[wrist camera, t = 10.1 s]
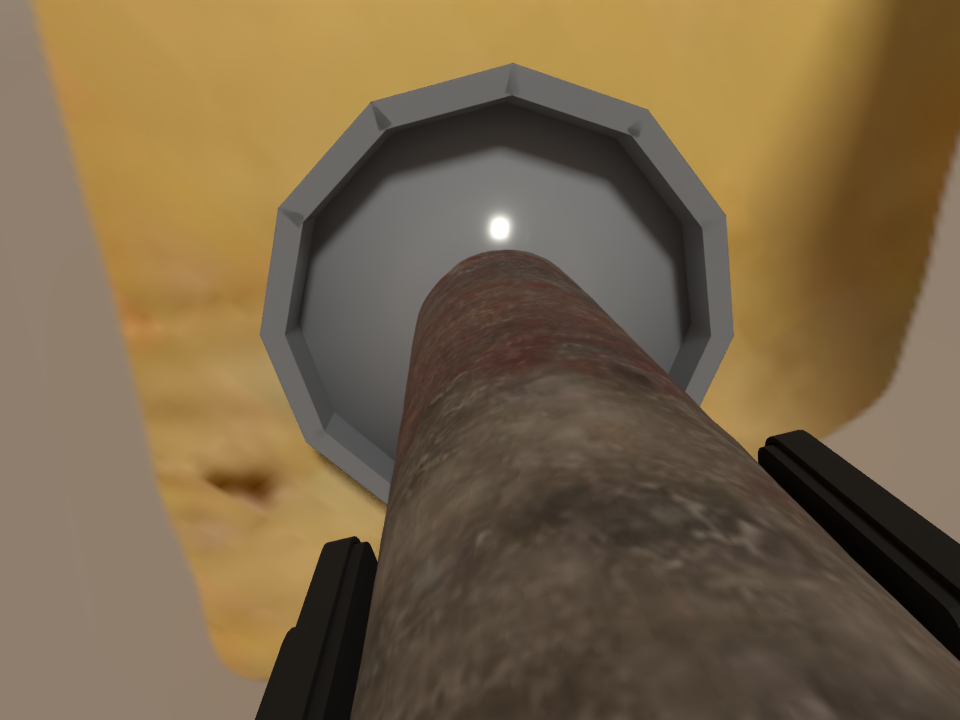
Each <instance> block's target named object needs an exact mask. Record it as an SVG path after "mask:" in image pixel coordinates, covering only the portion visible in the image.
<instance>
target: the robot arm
mask: <svg viewBox="0 0 960 720" xmlns="http://www.w3.org/2000/svg"><path fill="white" fill-rule="evenodd" d="M758 463H759V465H760V466H761V467H762V468H763V469H764V470H765V471H766V472H767V473H768V474H769V475H770V476H771V477H772V478H773V479H774V480H775V481H776V482H777V483H778V484H779V486H781V487H782V488H783V489H784V490H785V491H786V492H787V493H788V494H789V495H790V496H791V497H792V498H793V499H794V500H795V501H796V502H797V503H798V504H799V505H800V506H801V507H802V508H803V509H804V510H805V511H806V512H807V513H808V514H809V515H810V516H811V517H812V518H813V519H814V520H815V521H816V522H817V523H818V524H819V525H820V526H821V527H822V528H823V529H824V530H825V531H826V532H827V533H828V534H829V535H830V536H831V537H832V538H833V539H834V540H835V541H836V542H837V543H838V544H839V545H840V546H841V547H842V548H843V549H844V550H845V551H846V552H847V554H848V555H849V556H850V557H851V558H852V559H853V560H854V561H856V562H857V563H858V564H859V565H860V566H861V567H862V568H863V569H864V570H865V571H866V572H867V573H868V574H869V575H870V576H871V577H872V578H874V579H875V580H876V581H877V582H878V583H879V584H880V585H881V586H882V587H883V588H884V589H885V590H886V591H887V592H888V593H889V594H890V595H892V596H893V597H894V598H895V599H896V600H897V601H898V602H899V603H900V604H901V605H902V606H903V607H904V608H905V609H906V610H907V611H908V612H909V613H910V614H911V615H912V616H913V617H914V618H915V619H916V620H917V621H918V622H919V623H920V624H921V625H923V626H924V627H925V628H926V629H927V630H928V631H929V632H930V633H931V634H932V635H933V636H934V637H935V638H936V639H937V640H938V641H939V642H940V643H941V644H942V645H943V646H944V647H945V648H946V649H947V650H948V651H949V652H950V653H951V654H953V655H954V656H955V657H956V658H957V659H958V660H959V661H960V544H959V543H958V542H956V541H955V540H953V539H952V538H951V537H949V536H948V535H947V534H945V533H944V532H943V531H941V530H940V529H938V528H937V527H936V526H934V525H933V524H932V523H930V522H929V521H928V520H926V519H925V518H923V517H922V516H921V515H919V514H918V513H917V512H915V511H914V510H913V509H911V508H910V507H908V506H907V505H906V504H904V503H903V502H902V501H900V500H899V499H898V498H896V497H895V496H893V495H892V494H891V493H889V492H888V491H887V490H885V489H884V488H882V487H881V486H880V485H878V484H877V483H876V482H874V481H873V480H871V479H870V478H869V477H867V476H866V475H865V474H863V473H862V472H861V471H859V470H858V469H856V468H855V467H854V466H853V465H851V464H850V463H848V462H847V461H846V460H844V459H843V458H842V457H840V456H839V455H838V454H836V453H835V452H833V451H832V450H831V449H829V448H828V447H827V446H825V445H824V444H823V443H821V442H820V441H818V440H817V439H816V438H814V437H813V436H812V435H810V434H809V433H807V432H806V431H804V430H796V431H792V432H788V433H784V434H780V435H775V436H771V437H769V438H767V440H766V442H765V447H761V448H759V451H758ZM377 565H378V562H377V559H376V557H375V554H374V552H373V550H372V547H371V545H370V544H369V542H362V543H361V542H360V540H359V539H358V538H357V537H355V536H353V537H349V538H345V539H341V540H337V541H332V542H328V543H326V544H325V545H324V547H323V549H322V551H321V554H320V557H319V560H318V563H317V566H316V569H315V572H314V575H313V578H312V581H311V583H310V586H309V589H308V592H307V595H306V598H305V601H304V604H303V607H302V610H301V613H300V616H299V618H298V621H297V624H296V627H293V628H291V629H290V630H289V631H288V632H287V634H286V636H285V638H284V640H283V643H282V645H281V648H280V651H279V654H278V657H277V659H276V662H275V665H274V668H273V670H272V673H271V676H270V679H269V682H268V684H267V687H266V690H265V693H264V696H263V698H262V701H261V704H260V707H259V709H258V712H257V715H256V718H255V720H350V716H351V711H352V706H353V701H354V696H355V691H356V686H357V680H358V675H359V670H360V665H361V659H362V653H363V648H364V642H365V636H366V630H367V624H368V618H369V612H370V607H371V600H372V594H373V587H374V582H375V577H376V572H377Z"/></svg>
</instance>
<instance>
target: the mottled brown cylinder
mask: <svg viewBox="0 0 960 720" xmlns="http://www.w3.org/2000/svg"><path fill="white" fill-rule="evenodd" d="M350 720H960V661H959V660H958V659H957V658H956V657H955V656H954V655H953V654H951V653H950V652H949V651H948V650H947V649H946V648H945V647H944V646H943V645H942V644H941V643H940V642H939V641H938V640H937V639H936V638H935V637H934V636H933V635H932V634H931V633H930V632H929V631H928V630H927V629H926V628H925V627H924V626H923V625H921V624H920V623H919V622H918V621H917V620H916V619H915V618H914V617H913V616H912V615H911V614H910V613H909V612H908V611H907V610H906V609H905V608H904V607H903V606H902V605H901V604H900V603H899V602H898V601H897V600H896V599H895V598H894V597H893V596H892V595H890V594H889V593H888V592H887V591H886V590H885V589H884V588H883V587H882V586H881V585H880V584H879V583H878V582H877V581H876V580H875V579H874V578H872V577H871V576H870V575H869V574H868V573H867V572H866V571H865V570H864V569H863V568H862V567H861V566H860V565H859V564H858V563H857V562H856V561H854V560H853V559H852V558H851V557H850V556H849V555H848V554H847V552H846V551H845V550H844V549H843V548H842V547H841V546H840V545H839V544H838V543H837V542H836V541H835V540H834V539H833V538H832V537H831V536H830V535H829V534H828V533H827V532H826V531H825V530H824V529H823V528H822V527H821V526H820V525H819V524H818V523H817V522H816V521H815V520H814V519H813V518H812V517H811V516H810V515H809V514H808V513H807V512H806V511H805V510H804V509H803V508H802V507H801V506H800V505H799V504H798V503H797V502H796V501H795V500H794V499H793V498H792V497H791V496H790V495H789V494H788V493H787V492H786V491H785V490H784V489H783V488H782V487H781V486H779V484H778V483H777V482H776V481H775V480H774V479H773V478H772V477H771V476H770V475H769V474H768V473H767V472H766V471H765V470H764V469H763V468H762V467H761V466H760V465H759V463H758V462H757V461H756V460H755V459H754V458H753V457H752V456H751V455H750V454H749V453H748V452H747V451H746V450H745V449H744V448H743V447H742V446H741V445H740V444H739V442H737V441H736V440H735V439H734V438H733V437H732V436H730V435H729V434H728V433H727V432H726V431H725V430H723V429H722V428H721V427H720V426H719V425H718V424H717V423H715V422H714V421H713V420H712V419H711V418H710V417H709V416H708V415H707V414H706V413H705V412H704V411H703V410H702V409H701V408H700V407H699V406H698V405H697V403H696V402H695V401H694V400H693V399H692V398H691V397H690V396H689V395H688V394H687V393H686V392H685V391H683V390H682V389H681V388H680V387H679V386H678V385H677V384H676V383H675V382H674V381H673V380H672V378H671V377H670V376H669V375H668V374H667V373H666V372H665V370H664V369H662V368H661V367H660V366H659V365H658V364H657V363H656V362H655V361H654V360H653V359H652V358H651V357H650V356H649V355H648V354H647V353H646V352H645V351H644V350H643V349H642V348H641V347H640V346H639V345H638V344H637V343H636V342H635V341H634V340H633V339H632V338H631V337H630V336H629V335H628V334H627V333H626V332H625V331H624V329H623V328H621V327H620V326H619V325H618V324H617V323H616V322H615V321H614V320H613V319H612V318H611V317H610V316H609V315H608V314H607V313H606V312H605V311H604V310H603V309H602V308H601V307H600V306H599V305H598V304H597V303H596V302H595V300H594V299H593V298H591V297H590V296H589V295H588V294H587V293H586V292H585V291H584V290H583V289H582V288H581V287H580V286H579V285H578V284H577V283H575V282H574V281H573V280H572V279H571V278H570V277H569V276H568V275H567V274H565V273H564V272H563V271H562V270H561V269H560V268H559V267H557V266H556V265H555V264H553V263H552V262H551V261H549V260H547V259H545V258H543V257H540V256H538V255H535V254H533V253H531V252H526V251H520V250H507V249H506V250H496V251H487V252H482V253H479V254H476V255H473V256H470V257H468V258H467V259H465V260H463V261H461V262H459V263H458V264H457V265H456V266H455V267H453V268H452V269H451V270H450V271H449V272H448V273H447V274H446V275H444V276H443V277H442V278H441V279H440V280H439V281H438V283H437V284H436V285H435V286H434V288H433V289H432V290H431V292H430V293H429V294H428V295H427V297H426V299H425V300H424V302H423V304H422V306H421V308H420V311H419V314H418V318H417V322H416V327H415V333H414V338H413V344H412V348H411V356H410V364H409V372H408V378H407V385H406V392H405V399H404V409H403V415H402V419H401V424H400V431H399V437H398V444H397V450H396V457H395V464H394V470H393V475H392V480H391V485H390V490H389V497H388V504H387V512H386V517H385V522H384V528H383V533H382V538H381V544H380V551H379V558H378V565H377V572H376V577H375V582H374V587H373V594H372V600H371V607H370V612H369V618H368V624H367V630H366V636H365V642H364V648H363V653H362V659H361V665H360V670H359V675H358V680H357V686H356V691H355V696H354V701H353V706H352V711H351V716H350Z"/></svg>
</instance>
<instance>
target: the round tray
mask: <svg viewBox="0 0 960 720" xmlns="http://www.w3.org/2000/svg"><path fill="white" fill-rule="evenodd" d="M506 249H507V250H520V251H526V252H531V253H533V254H535V255H538V256H540V257H543V258H545V259H547V260H549V261H551V262H552V263H553V264H555V265H556V266H557V267H559V268H560V269H561V270H562V271H563V272H564V273H565V274H567V275H568V276H569V277H570V278H571V279H572V280H573V281H574V282H575V283H577V284H578V285H579V286H580V287H581V288H582V289H583V290H584V291H585V292H586V293H587V294H588V295H589V296H590V297H591V298H593V299H594V300H595V302H596V303H597V304H598V305H599V306H600V307H601V308H602V309H603V310H604V311H605V312H606V313H607V314H608V315H609V316H610V317H611V318H612V319H613V320H614V321H615V322H616V323H617V324H618V325H619V326H620V327H621V328H623V329H624V331H625V332H626V333H627V334H628V335H629V336H630V337H631V338H632V339H633V340H634V341H635V342H636V343H637V344H638V345H639V346H640V347H641V348H642V349H643V350H644V351H645V352H646V353H647V354H648V355H649V356H650V357H651V358H652V359H653V360H654V361H655V362H656V363H657V364H658V365H659V366H660V367H661V368H662V369H664V370H665V372H666V373H667V374H668V375H669V376H670V377H671V378H672V380H673V381H674V382H675V383H676V384H677V385H678V386H679V387H680V388H681V389H682V390H683V391H685V392H686V393H687V394H688V395H689V396H690V397H691V398H692V399H693V400H694V401H695V402H696V403H697V405H698V406H699V407H700V405H701V403H702V401H703V398H704V396H705V394H706V392H707V390H708V388H709V386H710V384H711V382H712V380H713V378H714V376H715V374H716V371H717V369H718V367H719V365H720V363H721V361H722V359H723V357H724V355H725V353H726V351H727V349H728V347H729V344H730V342H731V340H732V338H733V336H734V334H733V318H732V303H731V287H730V272H729V256H728V241H727V225H726V215H725V213H724V212H723V211H722V209H721V208H720V207H719V205H718V204H717V203H716V201H715V200H714V199H713V197H712V196H711V194H710V193H709V192H708V190H707V189H706V188H705V186H704V185H703V184H702V182H701V181H700V180H699V178H698V177H697V175H696V174H695V173H694V171H693V170H692V169H691V167H690V166H689V165H688V163H687V162H686V161H685V159H684V158H683V156H682V155H681V154H680V152H679V151H678V150H677V148H676V147H675V146H674V144H673V143H672V142H671V140H670V139H669V138H668V136H667V135H666V133H665V132H664V131H663V129H662V128H661V127H660V125H659V124H658V123H657V121H656V120H655V119H654V117H653V116H652V114H651V113H650V112H649V110H648V109H645V108H642V107H639V106H636V105H633V104H630V103H627V102H624V101H621V100H619V99H616V98H613V97H610V96H607V95H604V94H601V93H598V92H595V91H593V90H590V89H587V88H584V87H581V86H578V85H575V84H572V83H569V82H567V81H564V80H561V79H558V78H555V77H552V76H549V75H546V74H543V73H541V72H538V71H535V70H532V69H529V68H526V67H523V66H520V65H517V64H514V63H512V64H508V65H504V66H501V67H497V68H493V69H490V70H486V71H482V72H479V73H475V74H471V75H468V76H464V77H460V78H457V79H453V80H449V81H446V82H442V83H438V84H435V85H431V86H427V87H424V88H420V89H416V90H413V91H409V92H405V93H402V94H398V95H394V96H391V97H387V98H383V99H380V100H376V101H371V103H370V104H369V105H368V106H367V107H366V108H365V109H364V111H363V112H362V113H361V114H360V115H359V116H358V117H357V119H356V120H355V121H354V122H353V123H352V124H351V125H350V127H349V128H348V129H347V130H346V131H345V132H344V133H343V135H342V136H341V137H340V138H339V139H338V140H337V141H336V143H335V144H334V145H333V146H332V147H331V148H330V149H329V151H328V152H327V153H326V154H325V155H324V156H323V157H322V159H321V160H320V161H319V162H318V163H317V164H316V165H315V167H314V168H313V169H312V170H311V171H310V172H309V173H308V175H307V176H306V177H305V178H304V179H303V180H302V181H301V183H300V184H299V185H298V186H297V187H296V188H295V189H294V191H293V192H292V193H291V194H290V195H289V196H288V197H287V199H286V200H285V201H284V202H283V203H282V204H281V205H280V207H278V213H277V220H276V227H275V234H274V241H273V248H272V255H271V262H270V268H269V275H268V282H267V289H266V296H265V303H264V310H263V317H262V324H261V331H260V336H261V339H262V341H263V343H264V346H265V348H266V350H267V353H268V355H269V357H270V360H271V362H272V364H273V367H274V369H275V371H276V373H277V376H278V378H279V380H280V383H281V385H282V387H283V390H284V392H285V394H286V397H287V399H288V401H289V404H290V406H291V408H292V411H293V413H294V415H295V418H296V420H297V422H298V425H299V427H300V429H301V432H302V434H303V436H304V439H305V441H306V442H307V443H308V444H309V445H311V446H312V447H313V448H315V449H316V450H317V451H318V452H320V453H321V454H322V455H324V456H325V457H326V458H327V459H329V460H330V461H331V462H333V463H334V464H335V465H337V466H338V467H339V468H340V469H342V470H343V471H344V472H346V473H347V474H348V475H349V476H351V477H352V478H353V479H355V480H356V481H357V482H358V483H360V484H361V485H362V486H364V487H365V488H366V489H368V490H369V491H370V492H371V493H373V494H374V495H375V496H377V497H378V498H379V499H380V500H382V501H383V502H384V503H386V504H388V497H389V490H390V485H391V480H392V475H393V470H394V464H395V457H396V450H397V444H398V437H399V431H400V424H401V419H402V415H403V409H404V399H405V392H406V385H407V378H408V372H409V364H410V356H411V348H412V344H413V338H414V333H415V327H416V322H417V318H418V314H419V311H420V308H421V306H422V304H423V302H424V300H425V299H426V297H427V295H428V294H429V293H430V292H431V290H432V289H433V288H434V286H435V285H436V284H437V283H438V281H439V280H440V279H441V278H442V277H443V276H444V275H446V274H447V273H448V272H449V271H450V270H451V269H452V268H453V267H455V266H456V265H457V264H458V263H459V262H461V261H463V260H465V259H467V258H468V257H470V256H473V255H476V254H479V253H482V252H487V251H496V250H506Z"/></svg>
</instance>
